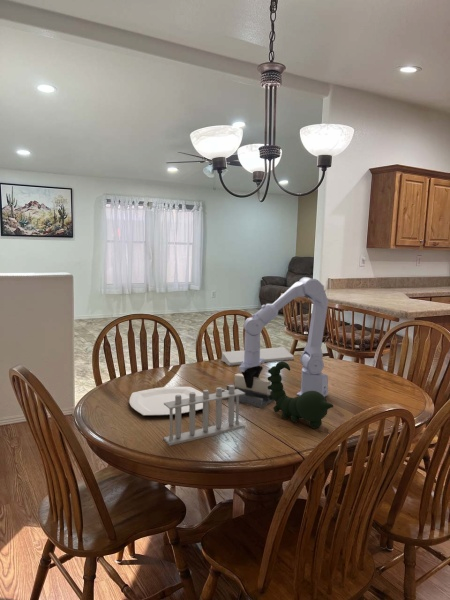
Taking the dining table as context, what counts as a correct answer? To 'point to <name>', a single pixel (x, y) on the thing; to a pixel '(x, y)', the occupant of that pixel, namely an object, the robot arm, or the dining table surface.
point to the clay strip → (258, 384)
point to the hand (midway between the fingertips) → (251, 386)
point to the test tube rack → (206, 429)
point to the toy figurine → (297, 400)
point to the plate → (161, 400)
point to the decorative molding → (266, 354)
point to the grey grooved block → (252, 397)
